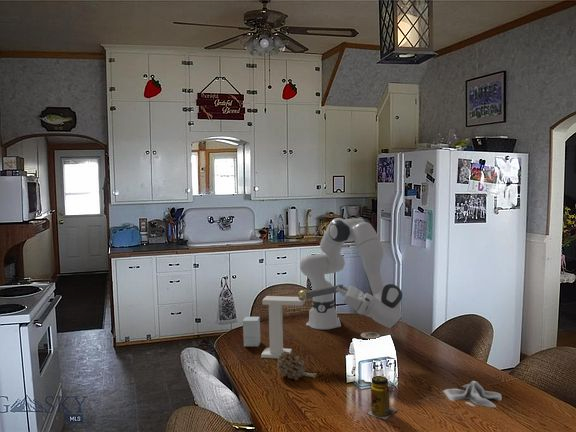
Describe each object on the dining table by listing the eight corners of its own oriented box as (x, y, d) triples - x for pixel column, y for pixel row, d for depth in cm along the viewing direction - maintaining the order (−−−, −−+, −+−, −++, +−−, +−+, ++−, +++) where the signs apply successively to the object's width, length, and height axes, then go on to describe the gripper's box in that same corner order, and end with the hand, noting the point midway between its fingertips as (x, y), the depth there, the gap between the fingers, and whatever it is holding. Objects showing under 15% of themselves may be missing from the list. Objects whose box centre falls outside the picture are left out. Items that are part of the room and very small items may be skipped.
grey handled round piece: (270, 376, 204) (269, 352, 203) (286, 369, 211) (286, 346, 210) (311, 391, 188) (311, 366, 188) (327, 383, 195) (327, 358, 195)
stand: (266, 350, 234) (264, 295, 232) (306, 352, 230) (305, 296, 228) (261, 357, 225) (259, 300, 223) (303, 359, 221) (302, 301, 219)
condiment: (366, 413, 170) (365, 379, 169) (378, 404, 177) (378, 371, 176) (385, 420, 166) (385, 384, 165) (397, 410, 172) (397, 376, 171)
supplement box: (260, 341, 247) (260, 316, 246) (258, 346, 240) (257, 320, 239) (246, 341, 248) (245, 316, 247) (243, 346, 240) (242, 320, 239)
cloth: (434, 396, 184) (434, 379, 184) (464, 382, 195) (464, 367, 195) (490, 418, 166) (491, 400, 166) (520, 402, 178) (520, 385, 177)
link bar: (300, 297, 226) (298, 290, 226) (344, 289, 222) (342, 282, 222) (298, 300, 222) (296, 293, 222) (343, 291, 217) (341, 284, 217)
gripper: (369, 291, 228) (343, 276, 230) (367, 302, 208) (338, 285, 210) (362, 303, 229) (336, 287, 231) (359, 315, 209) (330, 298, 211)
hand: (337, 287), depth 220 cm, fingers closed on link bar, 3 cm apart
